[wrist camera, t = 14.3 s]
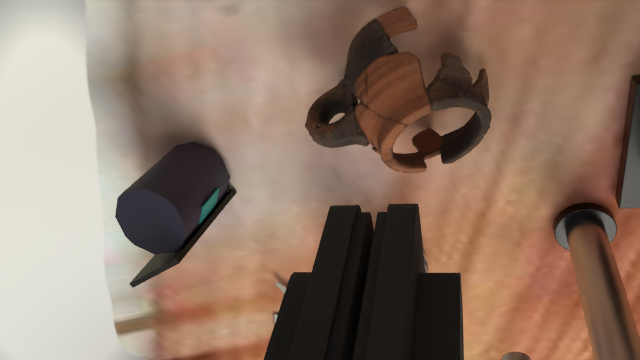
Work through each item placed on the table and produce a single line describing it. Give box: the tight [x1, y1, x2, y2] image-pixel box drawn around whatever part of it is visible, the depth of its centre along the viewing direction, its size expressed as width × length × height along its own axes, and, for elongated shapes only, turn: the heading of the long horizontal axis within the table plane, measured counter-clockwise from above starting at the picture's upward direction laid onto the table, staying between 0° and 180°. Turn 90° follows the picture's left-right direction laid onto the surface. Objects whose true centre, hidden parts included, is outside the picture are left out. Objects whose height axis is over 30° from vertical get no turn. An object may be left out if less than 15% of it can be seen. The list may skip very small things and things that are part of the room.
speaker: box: [115, 142, 236, 287], centre depth 45 cm, size 8×6×10 cm
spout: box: [501, 203, 640, 360], centre depth 39 cm, size 4×9×16 cm, turn 100°
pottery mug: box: [305, 8, 491, 173], centre depth 39 cm, size 12×10×8 cm
